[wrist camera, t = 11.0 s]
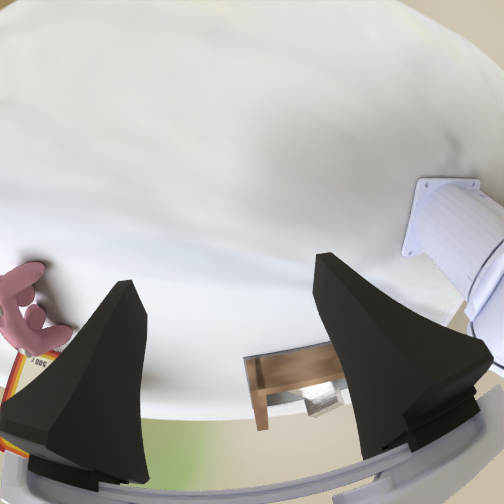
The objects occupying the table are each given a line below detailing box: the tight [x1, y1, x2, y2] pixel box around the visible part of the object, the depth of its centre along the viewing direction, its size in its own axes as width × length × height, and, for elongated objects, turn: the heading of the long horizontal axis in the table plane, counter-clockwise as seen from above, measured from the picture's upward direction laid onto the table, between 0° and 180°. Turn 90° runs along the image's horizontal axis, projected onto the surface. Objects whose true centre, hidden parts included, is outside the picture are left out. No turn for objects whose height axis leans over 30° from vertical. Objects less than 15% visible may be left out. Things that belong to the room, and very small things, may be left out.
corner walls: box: [246, 342, 345, 431], centre depth 33 cm, size 18×15×4 cm
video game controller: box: [0, 262, 72, 358], centre depth 19 cm, size 10×5×7 cm, turn 174°
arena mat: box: [243, 341, 348, 409], centre depth 34 cm, size 18×15×1 cm
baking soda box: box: [0, 350, 61, 459], centre depth 21 cm, size 10×6×16 cm
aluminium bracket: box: [288, 380, 345, 417], centre depth 32 cm, size 6×4×5 cm
